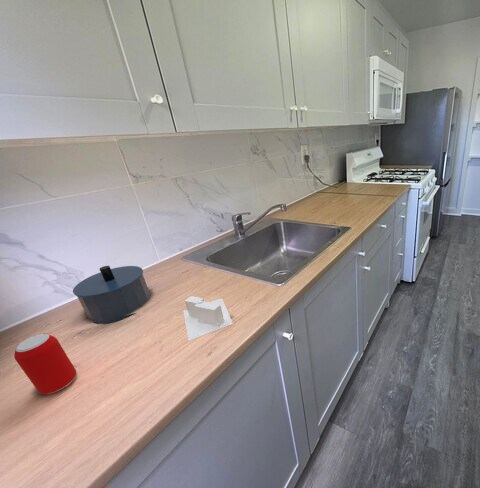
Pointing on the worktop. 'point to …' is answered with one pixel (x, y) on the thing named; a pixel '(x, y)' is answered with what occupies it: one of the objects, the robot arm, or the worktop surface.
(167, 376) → the worktop surface
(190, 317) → the napkin holder
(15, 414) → the worktop surface
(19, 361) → the beverage can
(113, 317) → the pot
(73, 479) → the worktop surface
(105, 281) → the pot lid
